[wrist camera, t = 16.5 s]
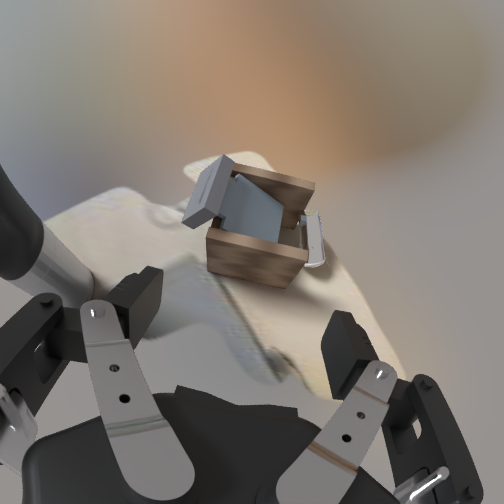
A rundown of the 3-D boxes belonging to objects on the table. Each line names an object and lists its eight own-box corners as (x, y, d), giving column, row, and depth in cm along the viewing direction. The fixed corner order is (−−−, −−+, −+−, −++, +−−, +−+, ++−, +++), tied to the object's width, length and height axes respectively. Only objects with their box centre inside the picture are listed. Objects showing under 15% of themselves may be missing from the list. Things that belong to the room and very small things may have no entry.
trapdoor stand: (207, 270, 45) (205, 237, 34) (226, 206, 51) (230, 162, 40) (284, 288, 45) (307, 261, 35) (294, 222, 51) (315, 183, 40)
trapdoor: (180, 223, 36) (203, 208, 32) (200, 171, 40) (223, 153, 36) (254, 264, 43) (282, 256, 39) (265, 214, 47) (291, 202, 43)
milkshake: (326, 207, 45) (328, 262, 48) (294, 210, 46) (299, 265, 49) (330, 214, 40) (332, 274, 44) (295, 217, 41) (299, 276, 45)
